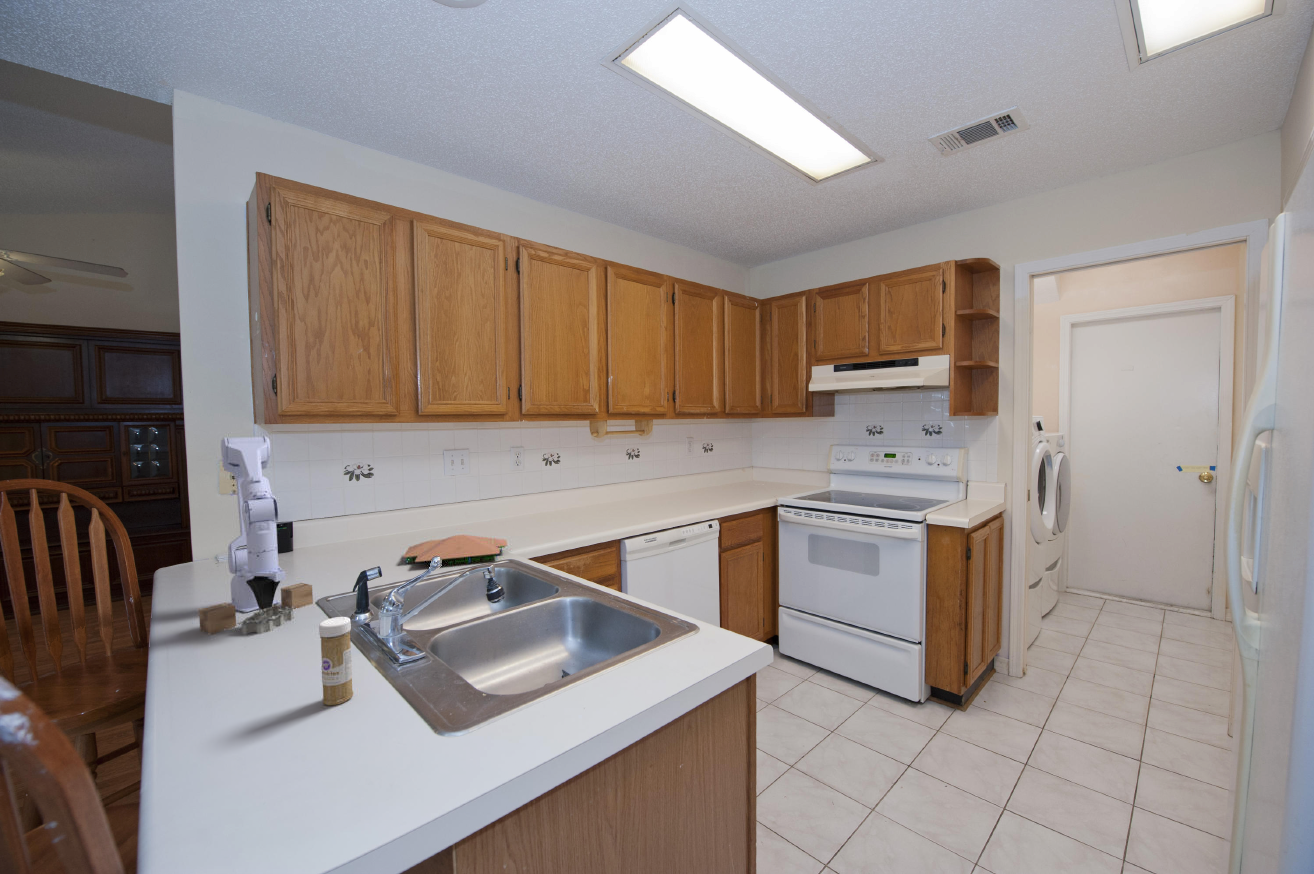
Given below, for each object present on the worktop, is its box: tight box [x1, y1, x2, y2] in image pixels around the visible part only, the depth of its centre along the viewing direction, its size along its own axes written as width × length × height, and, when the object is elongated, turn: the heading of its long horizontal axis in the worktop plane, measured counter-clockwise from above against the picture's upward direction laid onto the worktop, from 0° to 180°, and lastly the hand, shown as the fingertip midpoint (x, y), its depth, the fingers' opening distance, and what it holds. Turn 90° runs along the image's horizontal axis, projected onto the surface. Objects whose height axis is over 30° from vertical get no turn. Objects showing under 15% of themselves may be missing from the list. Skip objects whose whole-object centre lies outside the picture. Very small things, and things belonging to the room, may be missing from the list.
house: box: [402, 534, 508, 568], centre depth 184 cm, size 23×33×8 cm
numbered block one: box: [280, 582, 314, 611], centre depth 139 cm, size 5×5×5 cm
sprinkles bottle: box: [318, 616, 354, 706], centre depth 90 cm, size 5×5×14 cm
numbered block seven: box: [198, 602, 237, 635], centre depth 125 cm, size 5×5×5 cm
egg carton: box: [236, 604, 298, 635], centre depth 126 cm, size 11×8×4 cm
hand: (265, 607), depth 126 cm, fingers closed
